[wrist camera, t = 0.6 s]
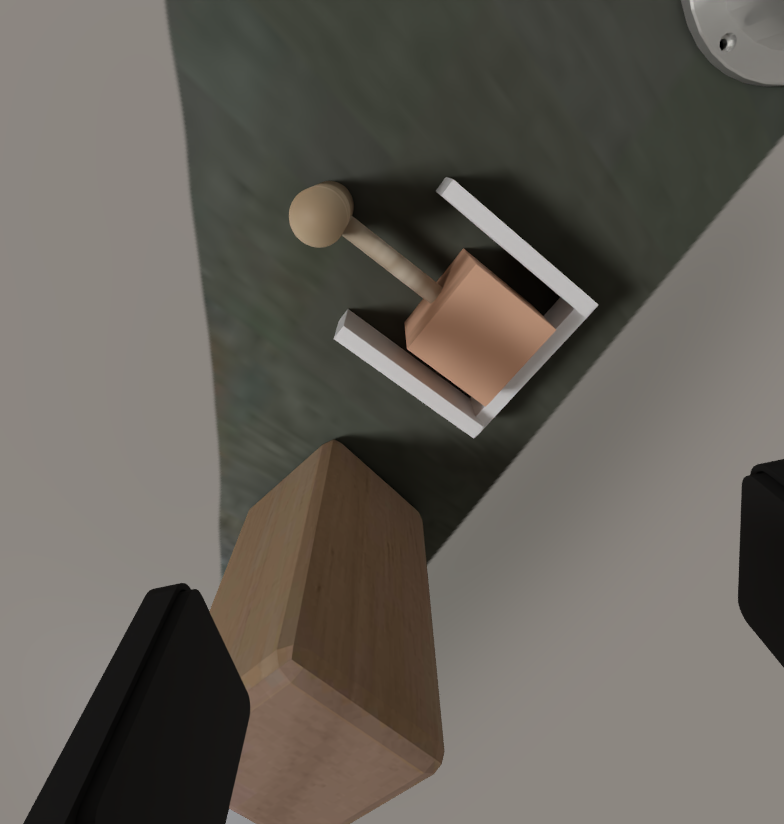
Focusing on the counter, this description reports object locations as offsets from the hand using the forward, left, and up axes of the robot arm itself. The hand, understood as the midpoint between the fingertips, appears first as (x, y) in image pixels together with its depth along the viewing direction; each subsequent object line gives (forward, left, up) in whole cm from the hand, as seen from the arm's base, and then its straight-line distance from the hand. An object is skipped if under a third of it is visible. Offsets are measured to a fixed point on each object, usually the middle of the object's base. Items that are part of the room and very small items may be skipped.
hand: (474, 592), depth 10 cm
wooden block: (+18, +7, -29) cm, 34 cm away
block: (0, 0, -28) cm, 28 cm away
